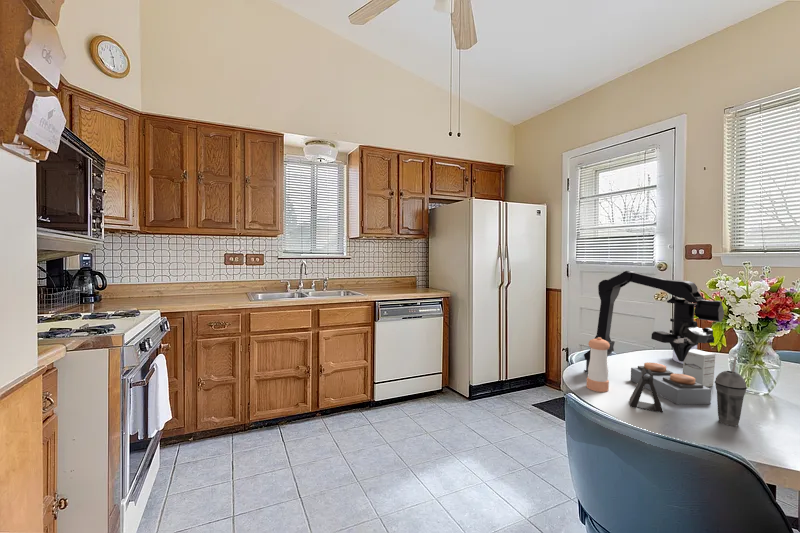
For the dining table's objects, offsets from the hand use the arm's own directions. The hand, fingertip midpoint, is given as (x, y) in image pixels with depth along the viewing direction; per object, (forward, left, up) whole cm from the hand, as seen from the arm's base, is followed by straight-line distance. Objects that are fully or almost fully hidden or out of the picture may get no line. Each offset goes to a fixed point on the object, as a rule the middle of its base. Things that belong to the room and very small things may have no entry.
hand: (681, 361), depth 131 cm
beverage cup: (-1, -19, -13) cm, 23 cm away
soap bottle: (+37, +41, -13) cm, 57 cm away
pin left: (0, +12, -12) cm, 17 cm away
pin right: (0, -1, -12) cm, 12 cm away
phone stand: (-18, -7, -13) cm, 23 cm away
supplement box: (+18, +13, -13) cm, 26 cm away
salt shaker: (-24, +9, -13) cm, 29 cm away
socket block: (0, +6, -13) cm, 14 cm away
